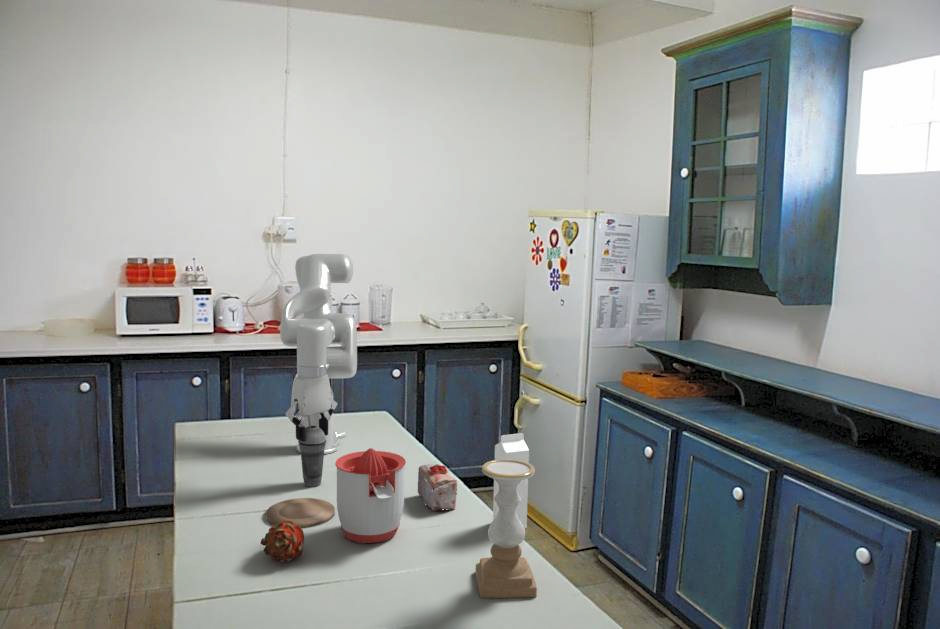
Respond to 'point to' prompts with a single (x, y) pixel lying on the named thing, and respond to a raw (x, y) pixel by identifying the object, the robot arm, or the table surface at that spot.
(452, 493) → the food item
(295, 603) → the table surface
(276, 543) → the dragon fruit
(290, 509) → the brown round plate
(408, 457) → the table surface
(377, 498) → the citrus juicer
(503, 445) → the milk
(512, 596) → the candle holder
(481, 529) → the table surface
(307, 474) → the beverage cup
